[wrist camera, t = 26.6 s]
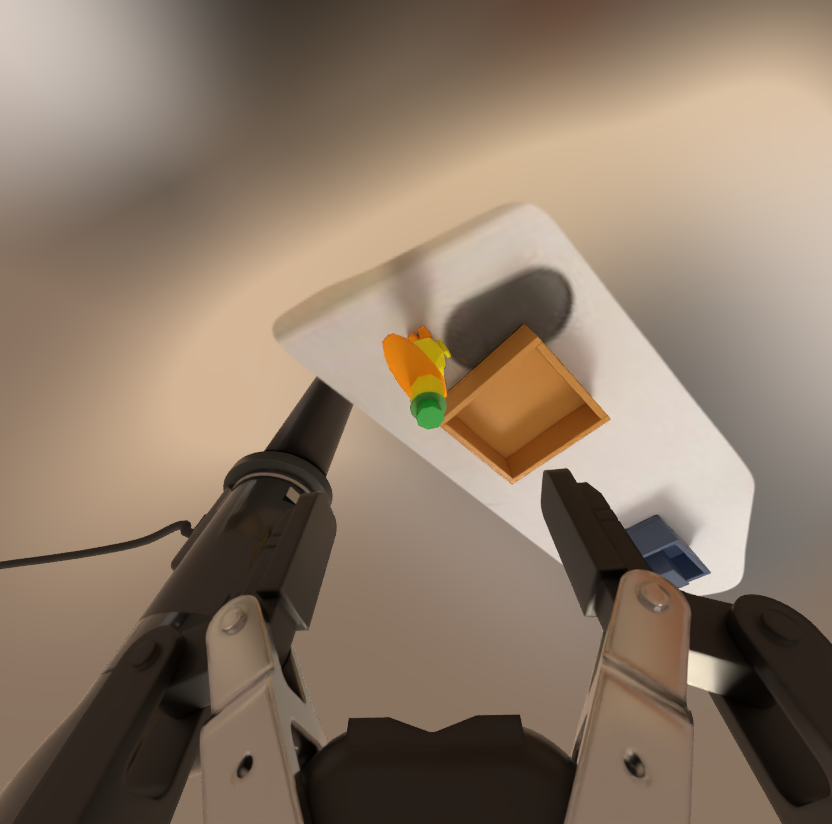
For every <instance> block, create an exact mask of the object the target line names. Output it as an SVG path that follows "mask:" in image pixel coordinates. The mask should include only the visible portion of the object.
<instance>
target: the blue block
mask: <svg viewBox="0 0 832 824" xmlns="http://www.w3.org/2000/svg"><path fill="white" fill-rule="evenodd" d="M644 559H645V560H646V562H647V563H648V565H649V566H650V567H651V569H652V570H653V571H654V572H655V573H657V574H659V575H661V576H663V577H664V578H666V579H668V580H669V581H670V582H672V583H673V584H674V585H675V586H676V587H677V588H681V587H683V586H686V585H688V584H689V583H688V581H687V580H686V579H685V578H684V576H683V575H682V574H681V572H680V571H679V570H678V568H677V567H676V566H675V564H674V563H673V562H672V560H671V559H670V558H669V556H668V555H667V554H666V552H665V551H664V550H660V551H658V552H656V553H654V554H651V555H649V556H647V557H645V558H644Z"/></svg>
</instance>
